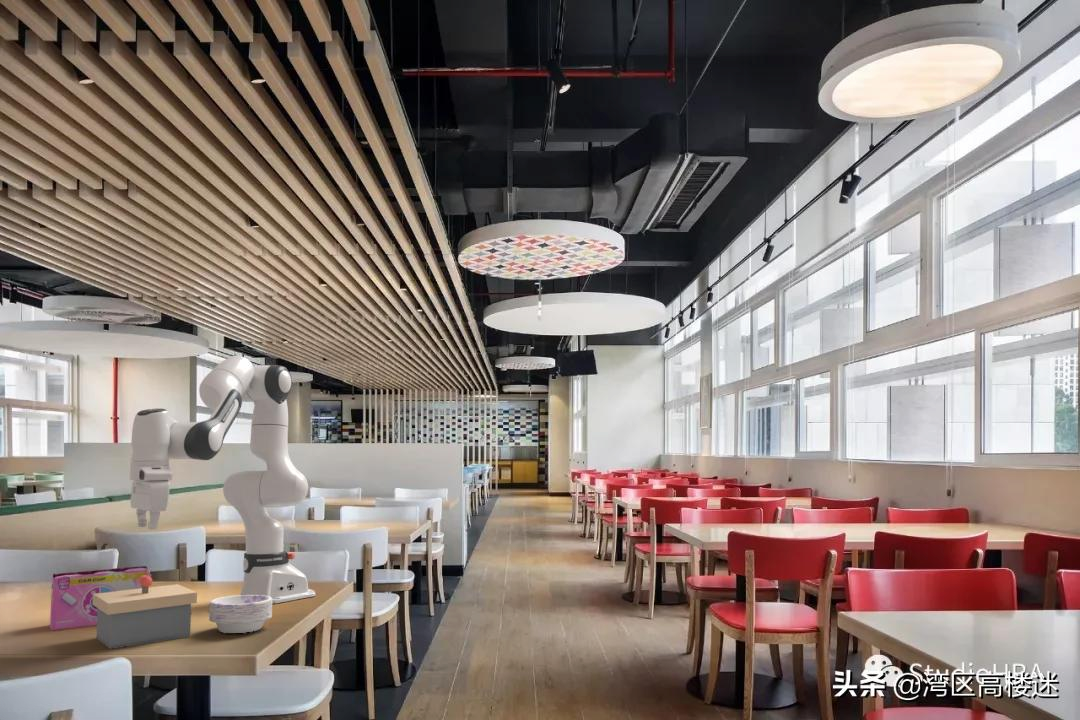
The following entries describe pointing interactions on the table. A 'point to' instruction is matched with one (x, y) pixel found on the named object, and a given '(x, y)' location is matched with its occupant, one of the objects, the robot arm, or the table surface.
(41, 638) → the table surface
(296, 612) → the table surface
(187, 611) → the carton
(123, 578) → the gum box
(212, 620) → the paper bowls
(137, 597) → the lid
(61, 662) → the table surface
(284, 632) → the table surface
